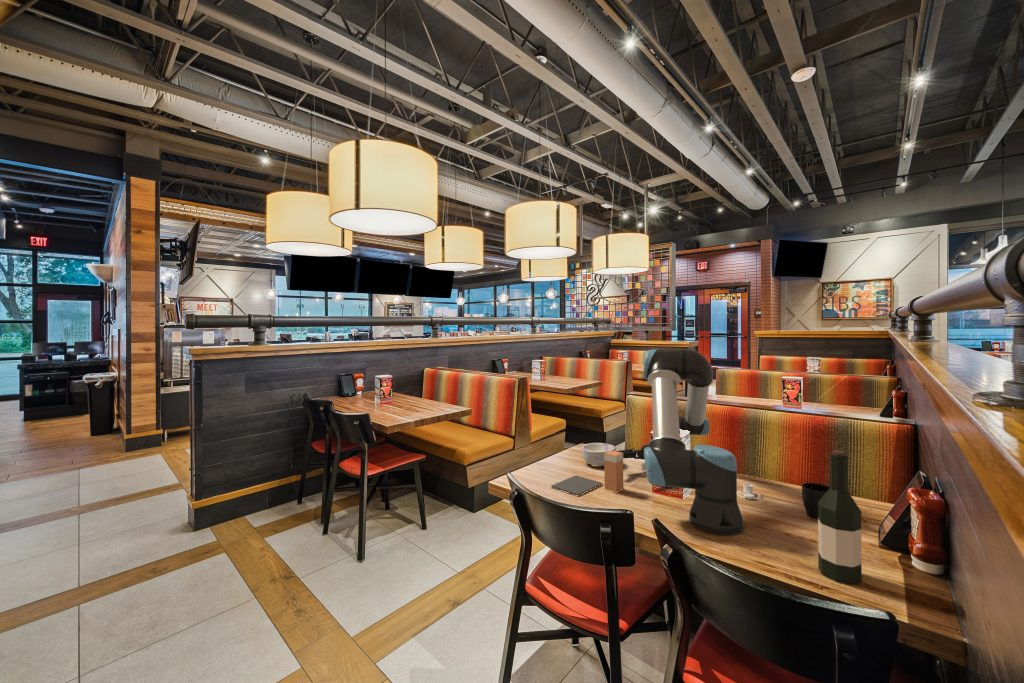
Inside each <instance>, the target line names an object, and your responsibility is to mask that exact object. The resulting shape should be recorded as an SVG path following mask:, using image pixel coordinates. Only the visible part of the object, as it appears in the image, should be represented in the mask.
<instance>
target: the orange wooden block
mask: <svg viewBox="0 0 1024 683" xmlns="http://www.w3.org/2000/svg"><path fill="white" fill-rule="evenodd" d="M616 451H617V450H616ZM616 451H609V452H606V453H604V467H603V468H604V469H603V470H604V471H603V472H604V490H605V489H607V490H611V491H614V492H618V491H620V490H621V489H625V488H624V458H623V453H621V452H616ZM620 492H621V491H620ZM618 493H619V492H618Z"/></svg>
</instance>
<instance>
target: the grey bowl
mask: <svg viewBox="0 0 1024 683" xmlns="http://www.w3.org/2000/svg"><path fill="white" fill-rule="evenodd" d="M580 450H581V458H582V459H583V460H585V462H586V463H587V464H588V463H589V464H591V465H597V466H604V453H606V452H609V451H617V449H616V447H615V445H612V444H609V443H606V442H603V443H602V442H590V443H587V444H583V445H582V446H581V449H580ZM589 464H588V465H589Z"/></svg>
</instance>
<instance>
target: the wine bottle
mask: <svg viewBox="0 0 1024 683" xmlns="http://www.w3.org/2000/svg"><path fill="white" fill-rule="evenodd" d="M831 451H832V452H831V453H829V471H830V472H829V473H830V474H829V476H830V477H829V481H830V483H829V485H830V486H829V487H830V489H829V490H828V491H827V492H826V493H825V494H824V496H823V497H822V498H821V499H820V500H819V501H818V520H817V524H818V526H817V527H818V528H817V529H818V530H817V531H818V532H817V536H818V538H817V542H818V544H817V545H818V548H817V550H818V553H817V554H818V557H817V560H818V561H817V562H818V564H817V565H818V570H819V571H820V574H821V575H822V576H823V577H825V578H827V579H830V580H831V581H834V582H836V583H840V584H845V585H852V586H854V585H856V584H859V583H862V577H863V576H862V511H861V509H860V507H859V506H858V504H857V503H856V501H855V500H854V498H853V497H852V495H851V494H850V492H849V456H848V455H846V452H845V451H843V450H837V449H836V450H835V449H834V450H831Z"/></svg>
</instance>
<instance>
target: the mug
mask: <svg viewBox="0 0 1024 683" xmlns="http://www.w3.org/2000/svg"><path fill="white" fill-rule="evenodd" d="M829 489H830V486H828V485H826V484H822V483H816V482H804V483H802V484H801V499H802V503H803V507H804V510H805V514H806V516H807V517H808V518H811V519H812V520H815V521H818V501H819V500H820V499H821V498H822V497H823V496H824V494H825V493H826V492H827V491H828V490H829Z"/></svg>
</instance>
